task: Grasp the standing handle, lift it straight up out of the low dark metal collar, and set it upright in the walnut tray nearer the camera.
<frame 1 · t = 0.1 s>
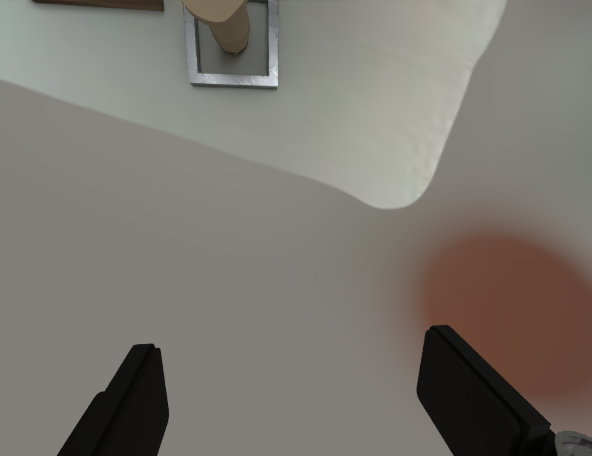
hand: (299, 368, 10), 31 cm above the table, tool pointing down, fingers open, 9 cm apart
handle: (233, 41, 34), resting in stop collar
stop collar: (233, 40, 34), on the table
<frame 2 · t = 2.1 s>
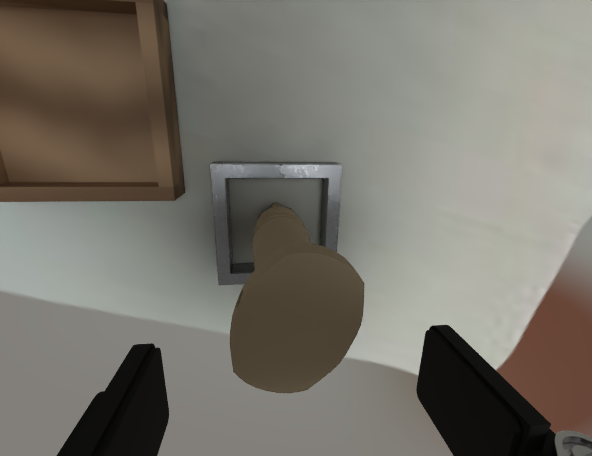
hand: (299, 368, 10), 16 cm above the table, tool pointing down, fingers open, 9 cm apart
tray: (83, 104, 21), on the table
handle: (276, 219, 26), resting in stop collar
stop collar: (276, 220, 26), on the table
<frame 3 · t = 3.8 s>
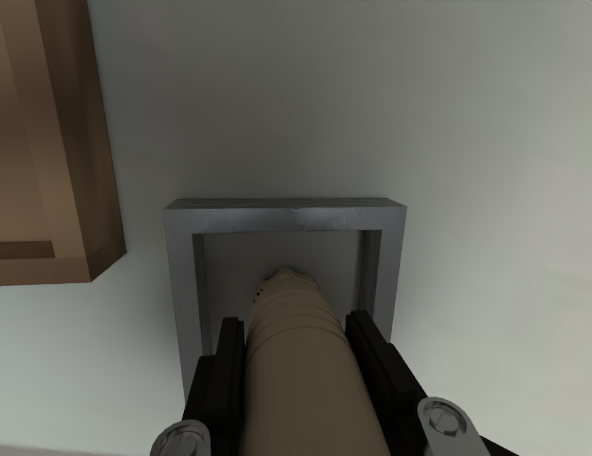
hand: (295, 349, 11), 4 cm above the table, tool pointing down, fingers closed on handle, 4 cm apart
handle: (285, 291, 15), resting in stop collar, touching gripper
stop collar: (285, 293, 15), on the table
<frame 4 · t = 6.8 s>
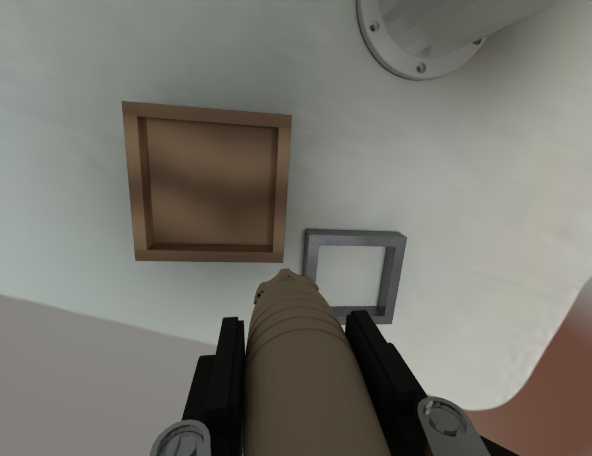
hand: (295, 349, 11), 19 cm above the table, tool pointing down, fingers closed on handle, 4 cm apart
tray: (215, 185, 28), on the table
handle: (286, 292, 15), point 15 cm above the table, touching gripper
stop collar: (347, 274, 32), on the table
when the fingers open (7 cm above the table, at t = 9.9 s): handle drops 1 cm, resting on tray.
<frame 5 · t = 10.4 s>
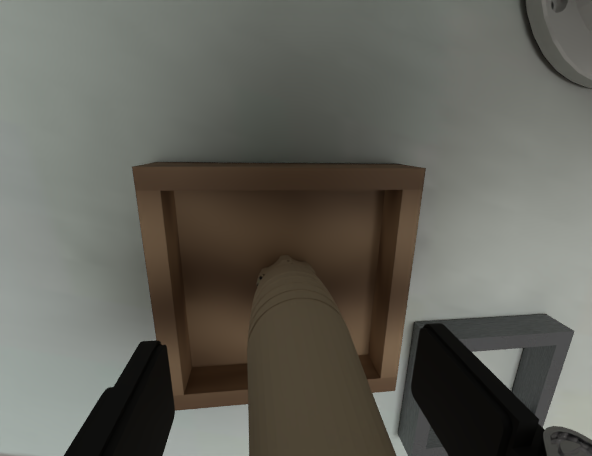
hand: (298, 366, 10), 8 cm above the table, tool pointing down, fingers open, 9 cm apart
tray: (282, 273, 18), on the table
handle: (285, 278, 17), point 1 cm above the table, touching tray
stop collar: (469, 376, 22), on the table
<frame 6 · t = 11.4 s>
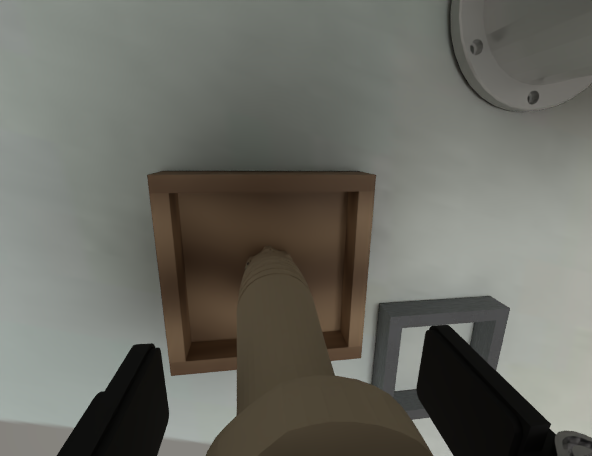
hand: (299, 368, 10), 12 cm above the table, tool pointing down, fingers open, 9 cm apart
tray: (266, 261, 21), on the table
handle: (269, 265, 20), point 1 cm above the table, touching tray
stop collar: (428, 351, 26), on the table
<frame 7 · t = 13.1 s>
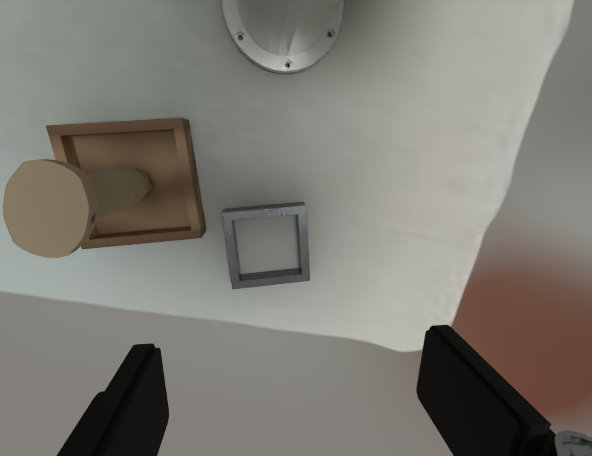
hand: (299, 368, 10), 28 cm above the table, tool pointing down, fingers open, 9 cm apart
tray: (140, 182, 34), on the table
handle: (139, 182, 33), point 1 cm above the table, touching tray
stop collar: (267, 243, 38), on the table
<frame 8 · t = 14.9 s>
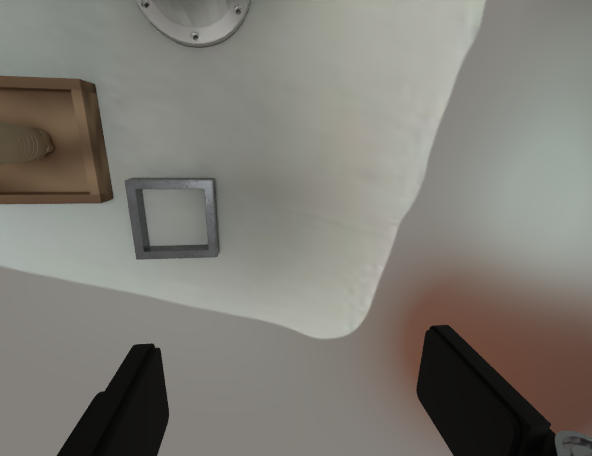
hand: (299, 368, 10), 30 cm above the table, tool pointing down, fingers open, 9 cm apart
tray: (44, 143, 34), on the table
handle: (41, 143, 33), point 1 cm above the table, touching tray
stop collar: (177, 216, 38), on the table
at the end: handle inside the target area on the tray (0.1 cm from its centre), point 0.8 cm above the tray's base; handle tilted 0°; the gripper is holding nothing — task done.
